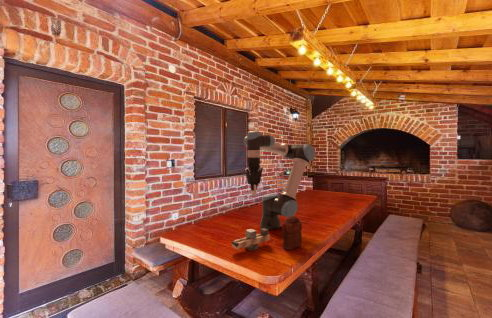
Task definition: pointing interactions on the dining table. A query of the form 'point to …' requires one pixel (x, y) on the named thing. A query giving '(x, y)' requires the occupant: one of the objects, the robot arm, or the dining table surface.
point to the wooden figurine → (292, 233)
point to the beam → (252, 241)
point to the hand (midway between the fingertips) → (254, 195)
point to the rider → (250, 234)
